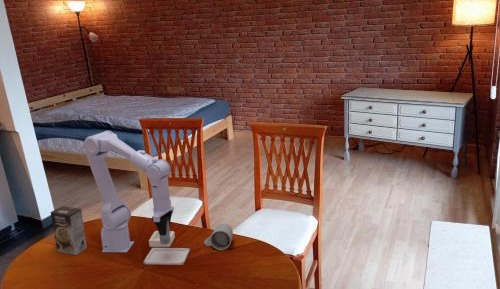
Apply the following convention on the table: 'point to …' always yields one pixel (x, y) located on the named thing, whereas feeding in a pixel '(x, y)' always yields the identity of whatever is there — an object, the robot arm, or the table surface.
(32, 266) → the table surface
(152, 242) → the square socket block
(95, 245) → the table surface
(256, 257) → the table surface
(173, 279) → the table surface
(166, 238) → the steel pin
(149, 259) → the tray
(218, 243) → the ceramic mug
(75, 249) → the coffee box
